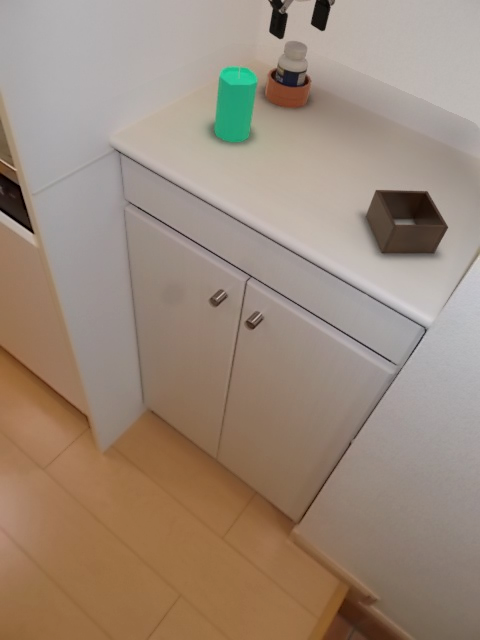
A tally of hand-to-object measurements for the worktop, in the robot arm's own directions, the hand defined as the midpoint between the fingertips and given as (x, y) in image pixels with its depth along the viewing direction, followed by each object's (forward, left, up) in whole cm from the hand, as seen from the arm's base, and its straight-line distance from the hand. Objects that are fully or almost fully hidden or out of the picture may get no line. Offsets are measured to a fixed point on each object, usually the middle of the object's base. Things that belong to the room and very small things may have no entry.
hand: (297, 31), depth 90 cm
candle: (+12, +13, -13) cm, 22 cm away
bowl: (0, 0, -12) cm, 12 cm away
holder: (-10, +39, -12) cm, 42 cm away
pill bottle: (0, 0, -12) cm, 12 cm away
